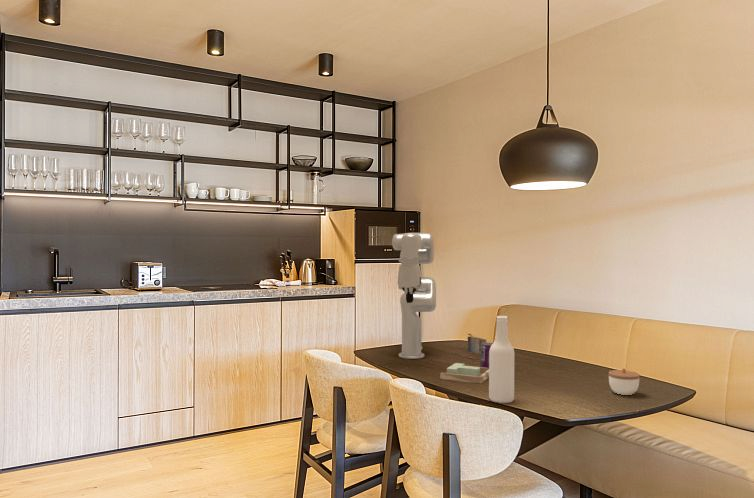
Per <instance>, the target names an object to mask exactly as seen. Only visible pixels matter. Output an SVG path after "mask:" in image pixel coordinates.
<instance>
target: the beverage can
mask: <svg viewBox="0 0 754 498" xmlns="http://www.w3.org/2000/svg"><path fill="white" fill-rule="evenodd" d="M493 343H494V342H486V343H481V347H480V354H479V360H480V361H479V367H485V368H489V350H490V347H491V345H492V344H493Z"/></svg>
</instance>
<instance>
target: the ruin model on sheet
mask: <svg viewBox="0 0 754 498" xmlns="http://www.w3.org/2000/svg"><path fill="white" fill-rule="evenodd" d="M467 335H468V336H467V351H468V352H472V353H475V354H479V355H480V347H481V343H487V339H485V338H481V337H477V336H474V335H472V333H467Z"/></svg>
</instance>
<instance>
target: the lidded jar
mask: <svg viewBox="0 0 754 498" xmlns="http://www.w3.org/2000/svg"><path fill="white" fill-rule="evenodd" d="M640 377H641V376H640V373H638V372H635V371H633V370H632V371H631V370H626V368H622V369H613V370H609V371H608V384H609V386H610V388H611V390H612V391H613V392H614V394H615V393H617V394H621V395H632V394H635V393H636V392H637V390H638V389H639V386H640V379H641V378H640ZM617 394H616V395H617ZM621 395H620V396H621ZM632 396H633V395H632Z"/></svg>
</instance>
